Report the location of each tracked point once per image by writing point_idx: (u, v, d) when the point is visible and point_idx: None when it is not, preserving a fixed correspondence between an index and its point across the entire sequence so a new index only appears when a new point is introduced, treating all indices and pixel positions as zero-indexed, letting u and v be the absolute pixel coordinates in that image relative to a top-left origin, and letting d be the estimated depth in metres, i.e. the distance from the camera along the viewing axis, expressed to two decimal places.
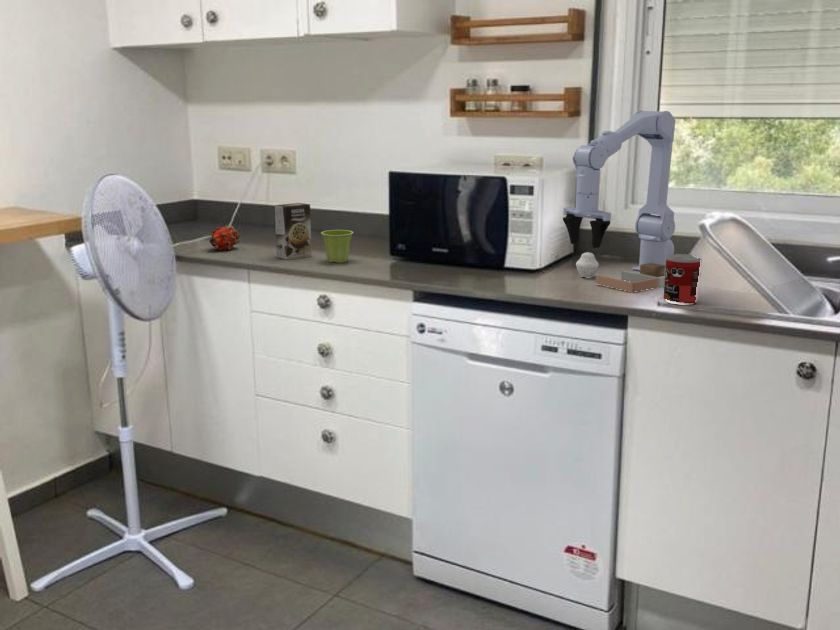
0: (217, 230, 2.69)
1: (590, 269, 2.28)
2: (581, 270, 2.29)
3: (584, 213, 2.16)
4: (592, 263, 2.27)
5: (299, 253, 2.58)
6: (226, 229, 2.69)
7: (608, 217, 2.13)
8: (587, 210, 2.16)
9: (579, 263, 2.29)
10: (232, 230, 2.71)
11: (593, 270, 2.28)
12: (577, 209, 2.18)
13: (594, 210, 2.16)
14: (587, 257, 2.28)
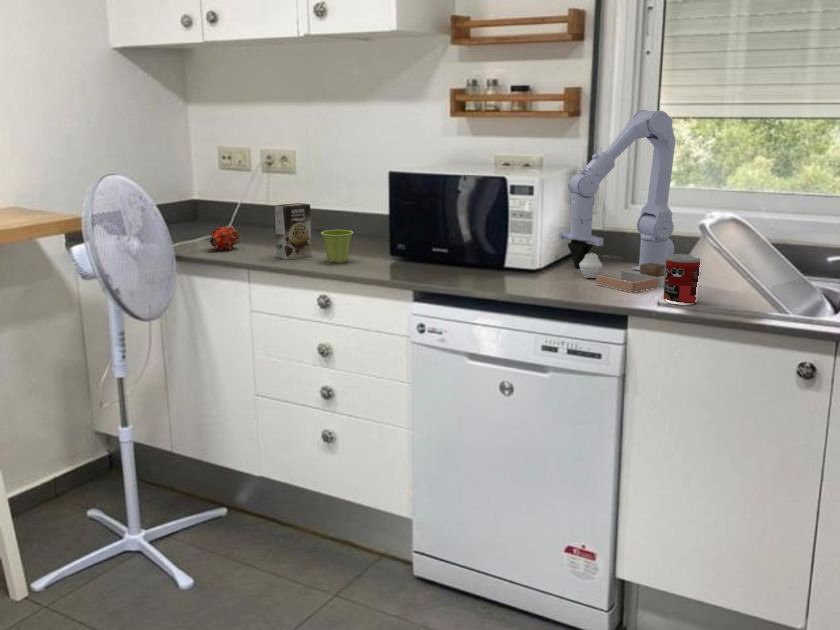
0: (217, 230, 2.69)
1: (593, 270, 2.27)
2: (584, 271, 2.28)
3: (578, 238, 2.28)
4: (595, 264, 2.26)
5: (299, 253, 2.58)
6: (226, 229, 2.69)
7: (600, 242, 2.25)
8: (581, 235, 2.28)
9: (582, 264, 2.28)
10: (232, 230, 2.71)
11: (596, 271, 2.27)
12: (571, 234, 2.29)
13: (587, 235, 2.28)
14: (590, 258, 2.27)
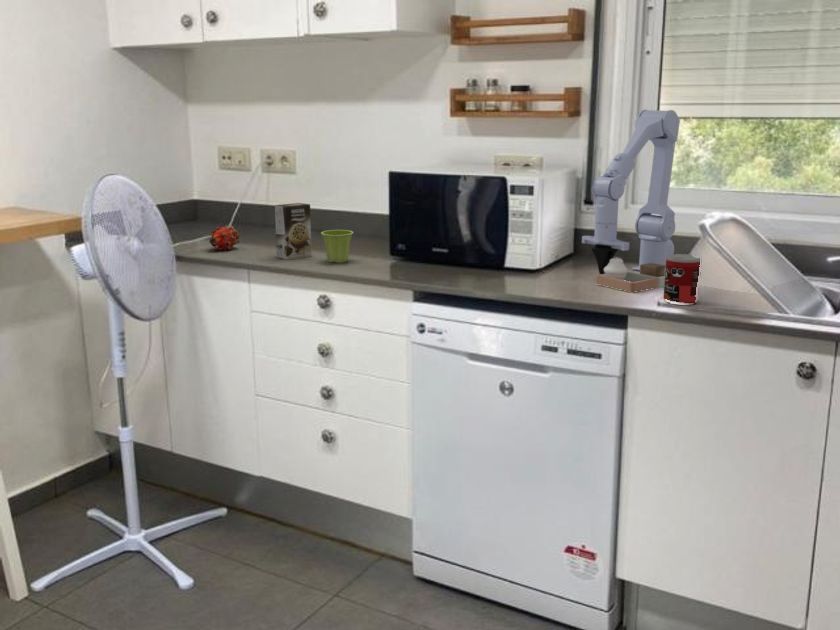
0: (217, 230, 2.69)
1: (619, 275, 2.20)
2: (609, 276, 2.21)
3: (603, 242, 2.21)
4: (621, 269, 2.20)
5: (299, 253, 2.58)
6: (226, 229, 2.69)
7: (626, 246, 2.18)
8: (606, 239, 2.21)
9: (607, 269, 2.21)
10: (232, 230, 2.71)
11: (622, 276, 2.20)
12: (596, 238, 2.23)
13: (612, 239, 2.21)
14: (616, 263, 2.20)
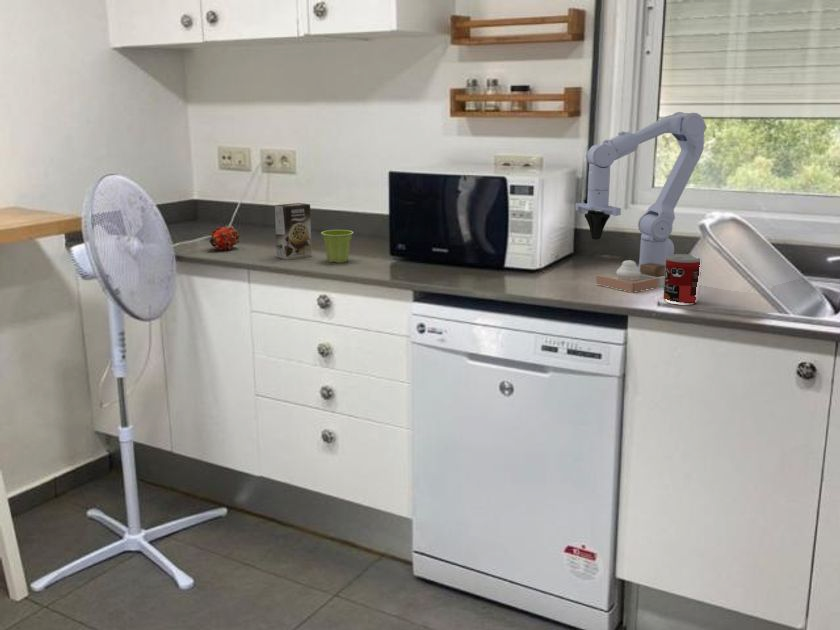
0: (217, 230, 2.69)
1: (632, 278, 2.17)
2: (622, 279, 2.18)
3: (595, 208, 2.30)
4: (634, 272, 2.17)
5: (299, 253, 2.58)
6: (226, 229, 2.69)
7: (618, 212, 2.27)
8: (598, 205, 2.29)
9: (620, 271, 2.18)
10: (232, 230, 2.71)
11: (635, 279, 2.17)
12: (589, 204, 2.31)
13: (605, 205, 2.30)
14: (628, 265, 2.17)
